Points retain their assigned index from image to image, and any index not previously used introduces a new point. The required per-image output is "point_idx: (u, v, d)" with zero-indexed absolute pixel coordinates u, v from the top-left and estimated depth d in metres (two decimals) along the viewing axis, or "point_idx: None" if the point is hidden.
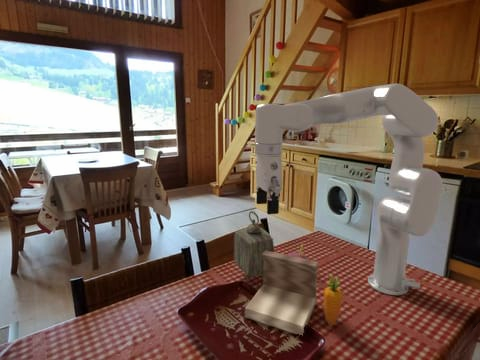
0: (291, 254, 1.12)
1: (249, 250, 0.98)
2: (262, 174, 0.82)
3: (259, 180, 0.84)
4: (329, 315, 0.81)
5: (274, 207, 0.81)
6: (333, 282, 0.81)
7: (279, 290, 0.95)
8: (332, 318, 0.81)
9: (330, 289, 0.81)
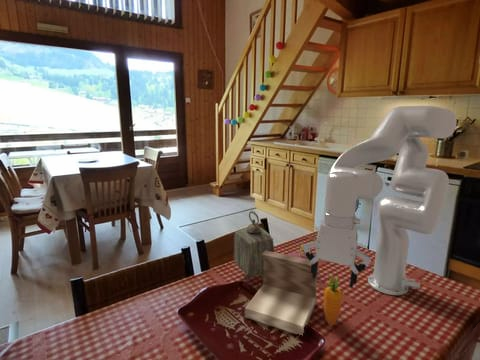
0: (291, 254, 1.12)
1: (249, 250, 0.98)
2: (344, 248, 0.75)
3: (334, 255, 0.77)
4: (329, 315, 0.81)
5: (356, 278, 0.77)
6: (333, 282, 0.81)
7: (279, 290, 0.95)
8: (332, 318, 0.81)
9: (330, 289, 0.81)
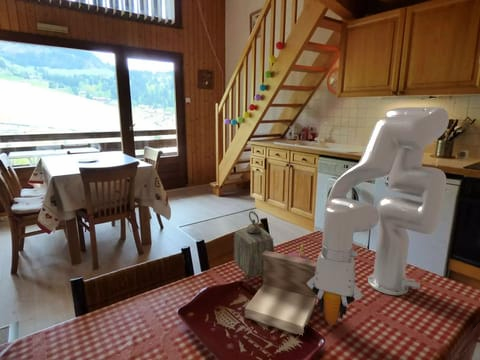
0: (291, 254, 1.12)
1: (249, 250, 0.98)
2: (342, 280, 0.77)
3: (332, 286, 0.79)
4: (329, 315, 0.81)
5: (346, 309, 0.81)
6: None
7: (279, 290, 0.95)
8: (332, 318, 0.81)
9: None
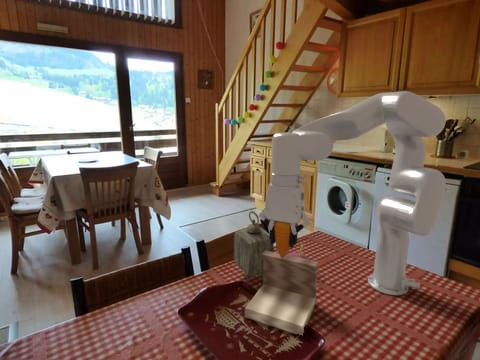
0: (291, 254, 1.12)
1: (249, 250, 0.98)
2: (290, 207, 0.77)
3: (281, 214, 0.79)
4: (279, 245, 0.81)
5: (296, 239, 0.81)
6: None
7: (279, 290, 0.95)
8: (282, 248, 0.81)
9: None
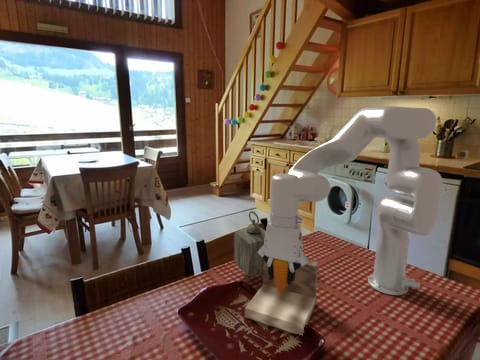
0: None
1: (249, 250, 0.98)
2: (288, 246, 0.80)
3: (280, 252, 0.81)
4: (278, 282, 0.83)
5: (294, 276, 0.83)
6: None
7: None
8: (280, 284, 0.83)
9: None
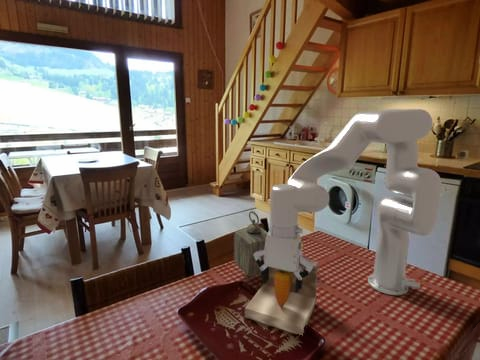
0: None
1: (249, 250, 0.98)
2: (288, 256, 0.80)
3: (279, 262, 0.82)
4: (279, 296, 0.84)
5: (301, 284, 0.83)
6: None
7: None
8: (281, 298, 0.84)
9: (280, 271, 0.85)
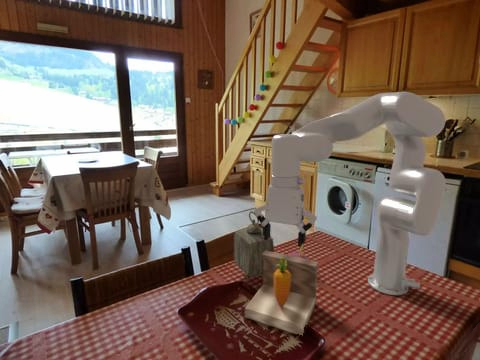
0: (291, 254, 1.12)
1: (249, 250, 0.98)
2: (290, 208, 0.77)
3: (281, 215, 0.79)
4: (278, 296, 0.84)
5: (304, 238, 0.80)
6: (282, 264, 0.85)
7: None
8: (281, 298, 0.84)
9: (279, 271, 0.85)
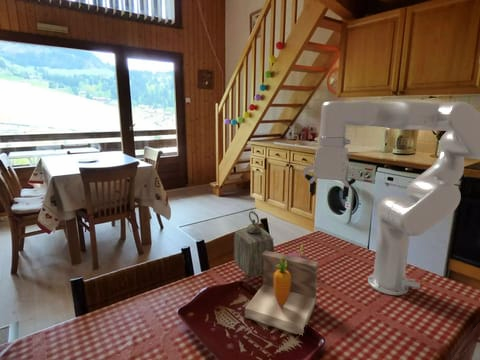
0: (291, 254, 1.12)
1: (249, 250, 0.98)
2: (337, 165, 0.90)
3: (329, 172, 0.91)
4: (278, 296, 0.84)
5: (348, 192, 0.92)
6: (282, 264, 0.84)
7: None
8: (281, 299, 0.84)
9: (279, 271, 0.85)
